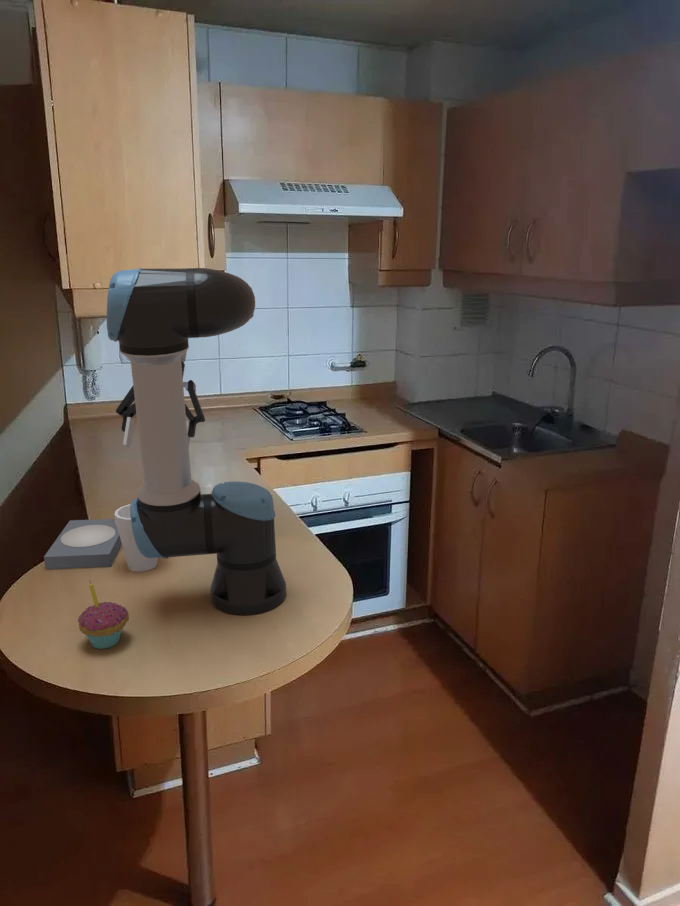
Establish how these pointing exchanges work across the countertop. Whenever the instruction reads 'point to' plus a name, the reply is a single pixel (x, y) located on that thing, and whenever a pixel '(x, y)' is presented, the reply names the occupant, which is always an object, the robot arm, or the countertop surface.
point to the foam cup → (131, 542)
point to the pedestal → (85, 545)
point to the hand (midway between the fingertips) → (155, 448)
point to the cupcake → (103, 622)
